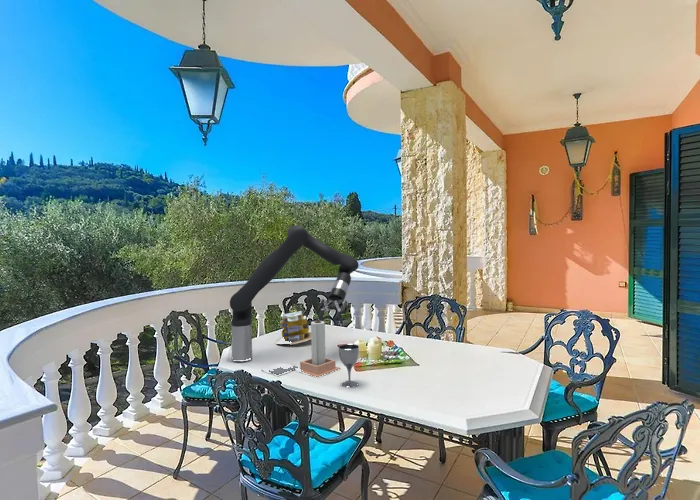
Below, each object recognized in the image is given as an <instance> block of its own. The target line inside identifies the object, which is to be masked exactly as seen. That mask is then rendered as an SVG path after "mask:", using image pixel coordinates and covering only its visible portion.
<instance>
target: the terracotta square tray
mask: <svg viewBox="0 0 700 500" xmlns="http://www.w3.org/2000/svg"><path fill="white" fill-rule="evenodd" d="M325 358H326V363H324V364H321V365H318V366H317V365H313V364H312V357H310V358H308V359H305V360H302V361H299V368H300V369H301V372H304V373H307V374H310V375H312V376H311V377H313V376H316V377H319V376H322V375H324V374H327V373H329V374H331V373H330V372H332V371H334V372H336V371H335V370H337V371H339V370H338V369H340V370H341V367H338V366H337V365H336V364H337V363H336V359H335V360H334V359H331V358H327V357H325ZM302 370H303V371H302ZM332 373H333V372H332ZM310 375H309V376H310ZM327 375H328V374H327ZM324 376H325V375H324ZM316 377H315V378H316ZM322 377H323V376H322ZM319 378H320V377H319Z"/></svg>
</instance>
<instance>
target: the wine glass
mask: <svg viewBox="0 0 700 500" xmlns="http://www.w3.org/2000/svg"><path fill="white" fill-rule="evenodd" d="M359 352H360V346H359V345H358V344H355V343H345V344H344V343H343V344H340V345H339V346H338V356H339V360H340V361H341V362H340V363H342V364H343V365H344V367H345V368H346V369H347V375H348V380H344V381H345V382H344V381H342V382H343V383H342V382H341V383H342V385H343V386H345V387H344V388H354V387H353V386H355V387H357V386H358V385H359V382H358V381H356V380H351V372H352V368H354V366H355V365H356V363H357V362H358V360H359V354H360V353H359ZM355 381H356V382H355ZM357 382H358V383H357ZM357 384H358V385H357ZM356 385H357V386H356ZM343 386H342V387H343Z"/></svg>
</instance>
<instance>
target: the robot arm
mask: <svg viewBox="0 0 700 500" xmlns="http://www.w3.org/2000/svg"><path fill="white" fill-rule="evenodd" d="M301 247H305V248H306V249H308V250H310V251H312V252H313V253H315V254H316V255H317V256H319V257H320V258H321V259H323V260H325V261H326V262H327V263H329V264H331V265H333V266H338V265H339V268H338V271H337V272H338V273H337V277H336V278H335V279H336V280H335V282H334V284H333V285H332V288H331V290H330V294H328V299H327V300H325V299H324V298H322V299H321V300H320V303H319V305H318V307H317V310H318V312H319V314H318V318H319V321H323V318H324V315H325V313H326V312H329V311H336V310H337V312H336V315H335V317H334V320H335V321H336V322H339V321H340V319H341V316H342V315H346V314H347V311H348V308H349V302H348V301H347V300H346V296H347V293H348V291H349V286H350V284H351V281H352V276H351V274H352V273H354V272H355V271H357V270H358V269H359V266H360V265H359V261H358V260H357V259H356V258H355V257H353V256H350V255H348V254H345V253H341V252H340V251H338V250H336V249H335V248H333V247H331V246H330V245H327V244H326V243H324V242H322V241H320V240H319V239H317V238H315V237H314V236H313V235H312V234H311V233H309V232H308V231H307V230H306V228H305V227H303V226H301V225H299V224H298V225H297V224H296V225H292V226H291V227H289V228H288V230H287V237H286V238H285V240H284V241H283V242H282V243H281V245H279V247H278V248H276V249H275V250H273V251H272V252H271V253H269V255H267V256H266V257H265V258H264V259H263V261H262V262H260V264H259V265H258V266H257V268H256V269H255V270H254V272H253V273H252V274H251V276H250V277H249V278H248V280H247V281H246V283H245V284H244V285H243V286H241V288H239V289H238V290H237V292H235V293H234V294H233V295H232V296H231V297H230V300H229V306H230V309H231V310H232V315H231V316H232V318H231V342H230V343H231V347H230V348H231V358H232V357H233V360H246V359H249V358H251V357H252V358H253V337H252V333H253V332H252V331H253V330H252V318H253V317H252V316H253V315H252V314H253V309H252V308H253V307H252V305H253V304H252V302H253V300H254V298H255V297H256V296H257V295H258V293H259V292H261V290H263V288H265V287H266V286H267V285H268V284H270V282H271V281H273V280H274V278H275V277H276V276H277V275H278V273H280V271H281V270H282V269H283V267H285V265H286V264H287V262H289V260H290V258H291V257H292V256H293V255H294V254H295V253H296V252H297V251H298V250H300V248H301ZM341 307H342V309H341ZM233 360H232V361H233Z"/></svg>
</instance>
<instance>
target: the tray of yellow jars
mask: <svg viewBox="0 0 700 500" xmlns="http://www.w3.org/2000/svg"><path fill="white" fill-rule="evenodd" d="M281 318H282V319H281V320H280V321H279V324H280V328H281V329H282V330H281V338H283V337H284V339H285V341H289V342H290V341H291V342H292V343H291V344H290V345H296V344H300V343H306V342H307V341H311V331H310V326H309V325H310V324H308V319H307V315H304V316H303V310H302V311H301V310H299V311H295V312H288V313H285V314H283V315H282V317H281Z"/></svg>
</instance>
